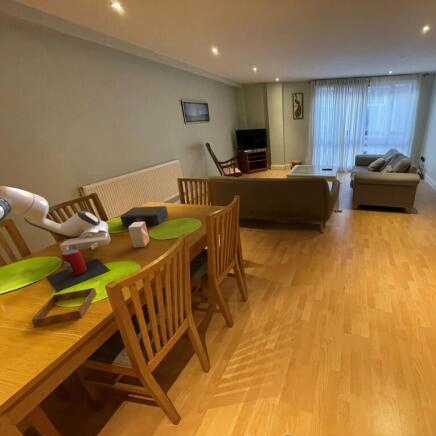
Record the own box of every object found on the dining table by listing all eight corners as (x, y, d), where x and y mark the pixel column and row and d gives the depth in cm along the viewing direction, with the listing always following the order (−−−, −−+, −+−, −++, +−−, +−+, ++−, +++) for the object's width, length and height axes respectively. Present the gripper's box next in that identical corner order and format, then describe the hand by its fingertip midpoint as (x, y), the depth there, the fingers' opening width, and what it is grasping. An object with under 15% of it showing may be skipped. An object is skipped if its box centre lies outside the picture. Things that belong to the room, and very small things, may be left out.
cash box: (121, 227, 167) (118, 216, 164) (135, 216, 186) (132, 207, 183) (159, 225, 170) (156, 215, 167) (169, 214, 188) (167, 205, 186)
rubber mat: (57, 292, 104) (56, 291, 104) (47, 277, 114) (46, 276, 114) (110, 270, 119) (109, 269, 119) (97, 259, 129) (96, 258, 128)
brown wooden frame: (34, 327, 86) (31, 320, 85) (56, 301, 99) (53, 294, 97) (82, 317, 90) (79, 310, 89) (96, 293, 103) (94, 287, 102)
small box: (145, 246, 141) (139, 226, 136) (133, 247, 140) (127, 227, 135) (150, 240, 148) (145, 221, 143) (138, 241, 147) (133, 222, 142)
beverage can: (69, 272, 116) (60, 251, 112) (87, 267, 121) (79, 246, 116) (70, 278, 112) (60, 256, 107) (88, 273, 116) (79, 251, 111)
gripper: (65, 235, 126) (50, 247, 114) (110, 229, 132) (101, 241, 120) (69, 245, 129) (55, 259, 117) (114, 240, 135) (105, 252, 123)
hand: (79, 250), depth 118 cm, fingers open, 8 cm apart
